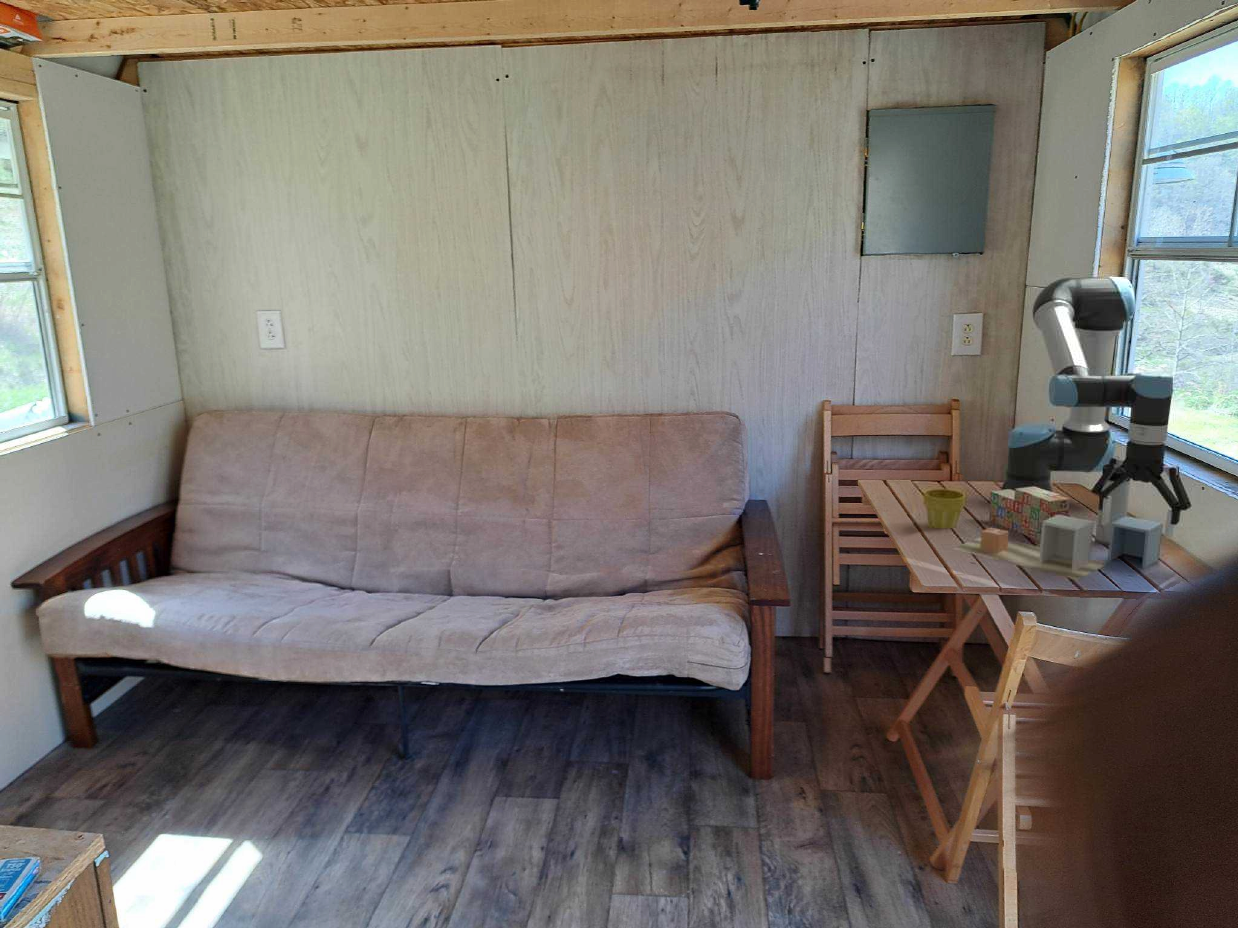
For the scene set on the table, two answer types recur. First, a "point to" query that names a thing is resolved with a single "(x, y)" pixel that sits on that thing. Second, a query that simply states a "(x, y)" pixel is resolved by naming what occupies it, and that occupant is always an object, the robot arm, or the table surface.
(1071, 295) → the robot arm
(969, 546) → the birch board
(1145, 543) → the hollow pale blue box
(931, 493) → the plant pot
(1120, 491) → the travel mug
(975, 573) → the table surface
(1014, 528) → the stack of blocks
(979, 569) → the table surface
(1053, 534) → the box
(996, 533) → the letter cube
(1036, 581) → the table surface
